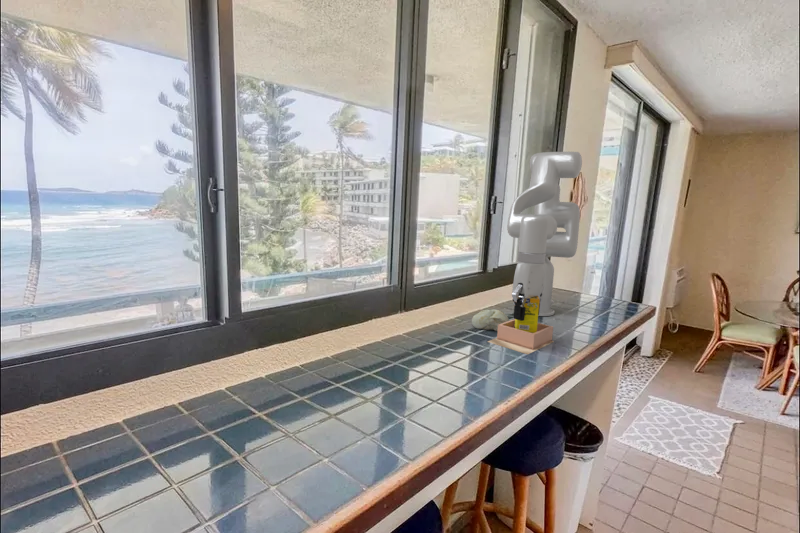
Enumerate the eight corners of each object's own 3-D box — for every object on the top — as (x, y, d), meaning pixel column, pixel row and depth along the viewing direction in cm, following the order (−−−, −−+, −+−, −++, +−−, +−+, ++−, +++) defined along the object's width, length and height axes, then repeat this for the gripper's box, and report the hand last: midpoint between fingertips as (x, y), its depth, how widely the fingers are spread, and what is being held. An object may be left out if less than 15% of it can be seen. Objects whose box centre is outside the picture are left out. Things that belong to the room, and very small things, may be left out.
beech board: (515, 334, 130) (515, 330, 130) (554, 345, 121) (554, 341, 121) (486, 345, 119) (487, 341, 119) (527, 358, 110) (527, 354, 110)
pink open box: (517, 331, 130) (518, 317, 129) (551, 341, 121) (553, 326, 121) (497, 339, 122) (498, 324, 121) (532, 350, 113) (534, 334, 113)
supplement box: (536, 335, 118) (540, 299, 116) (515, 333, 119) (518, 297, 117) (534, 329, 123) (537, 294, 122) (514, 327, 125) (516, 293, 123)
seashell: (468, 309, 131) (482, 300, 138) (466, 331, 133) (480, 321, 141) (505, 321, 123) (518, 310, 131) (503, 344, 126) (515, 332, 134)
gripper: (533, 255, 126) (529, 309, 129) (503, 259, 114) (499, 319, 117) (557, 257, 121) (551, 314, 124) (528, 262, 109) (523, 325, 112)
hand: (526, 316), depth 120 cm, fingers closed on supplement box, 8 cm apart
